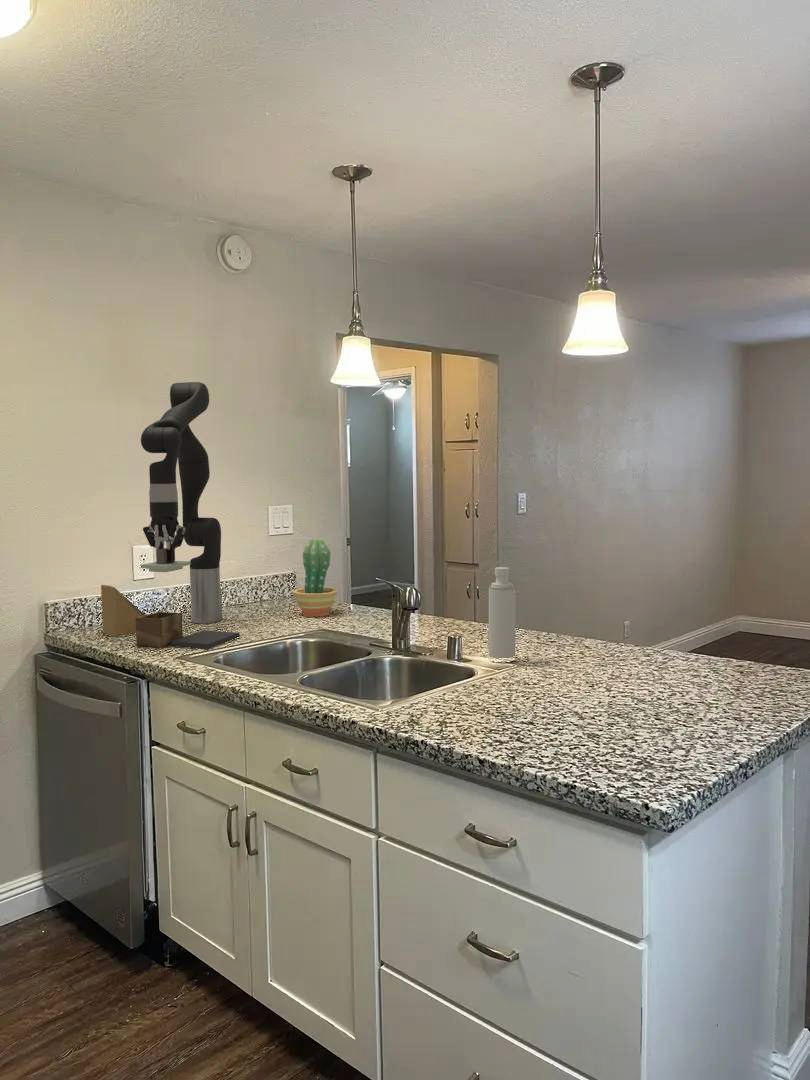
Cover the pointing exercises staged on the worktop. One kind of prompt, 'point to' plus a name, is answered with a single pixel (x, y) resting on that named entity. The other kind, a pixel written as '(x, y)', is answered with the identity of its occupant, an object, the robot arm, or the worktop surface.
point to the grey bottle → (502, 615)
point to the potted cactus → (315, 581)
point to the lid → (164, 563)
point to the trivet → (205, 639)
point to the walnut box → (158, 629)
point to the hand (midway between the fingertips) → (166, 562)
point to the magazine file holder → (118, 612)
